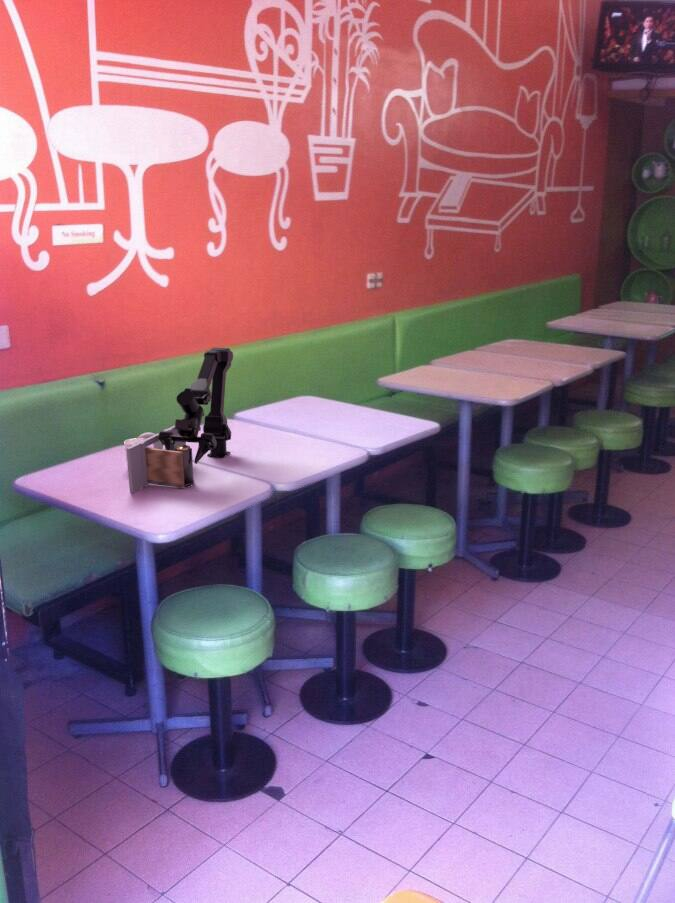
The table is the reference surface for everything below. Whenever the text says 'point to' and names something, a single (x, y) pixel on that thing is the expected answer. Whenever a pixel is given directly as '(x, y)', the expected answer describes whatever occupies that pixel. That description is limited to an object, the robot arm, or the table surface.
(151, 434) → the donut
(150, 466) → the door
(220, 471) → the table surface
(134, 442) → the white cup
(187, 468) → the dark metallic tumbler
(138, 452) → the wall frame
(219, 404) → the robot arm
